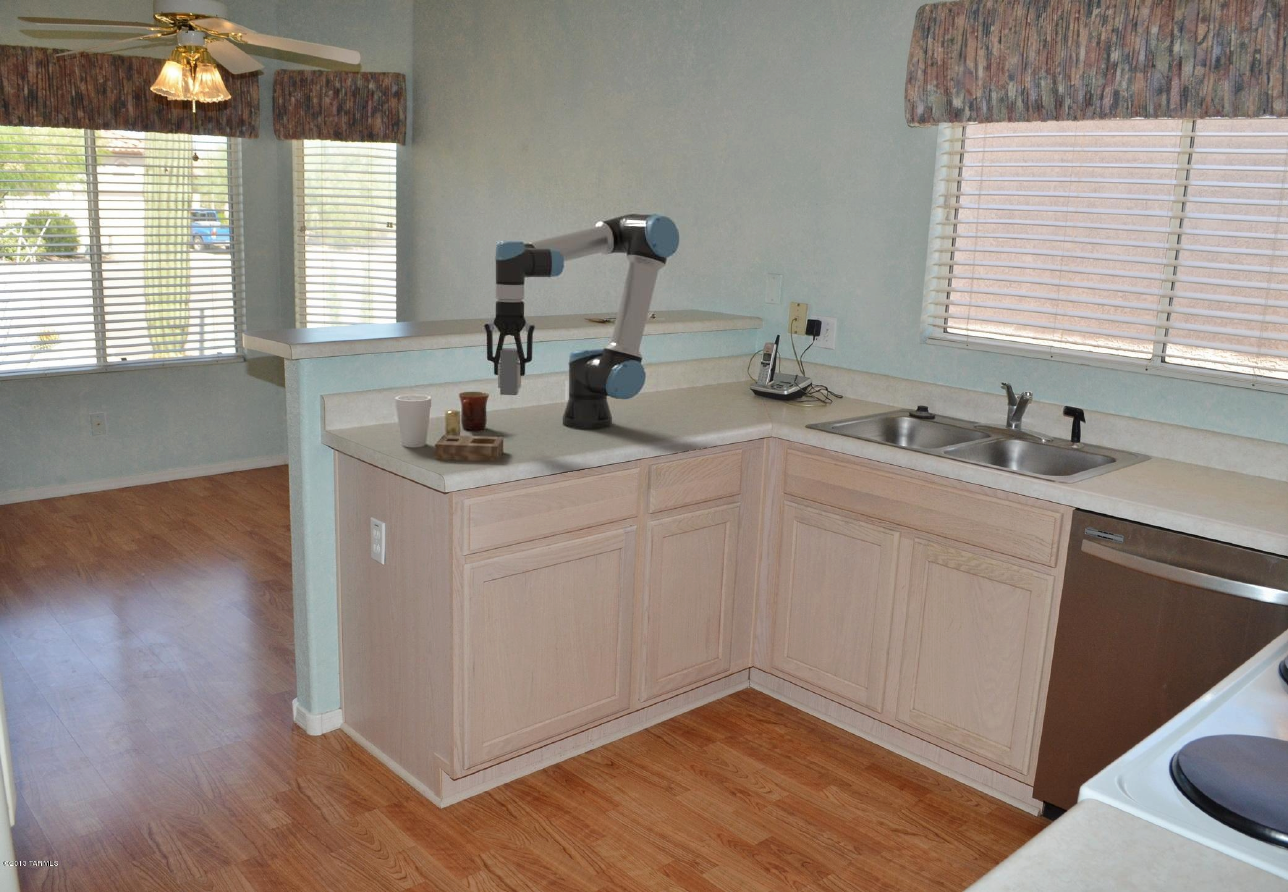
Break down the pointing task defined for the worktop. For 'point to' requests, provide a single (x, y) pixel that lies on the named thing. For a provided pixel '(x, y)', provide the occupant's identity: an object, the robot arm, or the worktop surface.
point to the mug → (473, 410)
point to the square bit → (508, 371)
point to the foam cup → (413, 419)
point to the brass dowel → (452, 422)
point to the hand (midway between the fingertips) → (509, 387)
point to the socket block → (469, 448)
